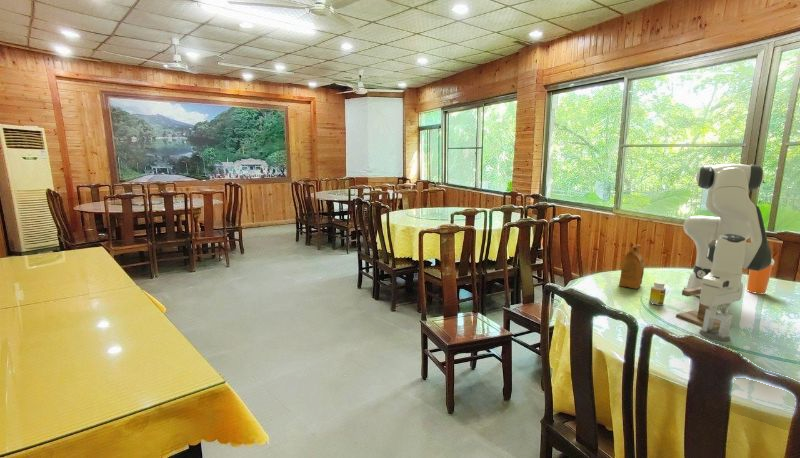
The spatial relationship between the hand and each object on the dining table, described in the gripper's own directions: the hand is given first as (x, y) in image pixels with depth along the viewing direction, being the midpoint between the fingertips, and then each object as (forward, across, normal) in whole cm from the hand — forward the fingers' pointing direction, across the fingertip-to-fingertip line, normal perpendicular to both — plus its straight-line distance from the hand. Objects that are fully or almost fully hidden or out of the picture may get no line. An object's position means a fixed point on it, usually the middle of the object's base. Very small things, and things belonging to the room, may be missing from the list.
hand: (718, 314), depth 145 cm
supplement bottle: (+9, -12, -30) cm, 34 cm away
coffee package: (+9, -25, -52) cm, 58 cm away
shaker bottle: (+9, -80, -23) cm, 84 cm away
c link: (+8, 0, 0) cm, 8 cm away
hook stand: (+9, -6, -10) cm, 15 cm away
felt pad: (+9, 0, 0) cm, 9 cm away
